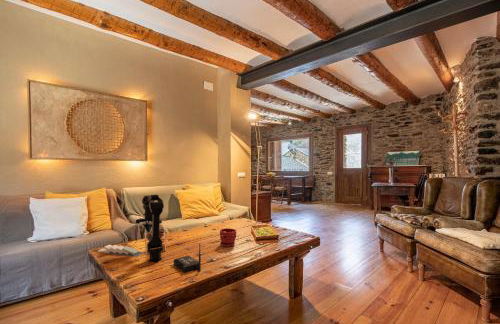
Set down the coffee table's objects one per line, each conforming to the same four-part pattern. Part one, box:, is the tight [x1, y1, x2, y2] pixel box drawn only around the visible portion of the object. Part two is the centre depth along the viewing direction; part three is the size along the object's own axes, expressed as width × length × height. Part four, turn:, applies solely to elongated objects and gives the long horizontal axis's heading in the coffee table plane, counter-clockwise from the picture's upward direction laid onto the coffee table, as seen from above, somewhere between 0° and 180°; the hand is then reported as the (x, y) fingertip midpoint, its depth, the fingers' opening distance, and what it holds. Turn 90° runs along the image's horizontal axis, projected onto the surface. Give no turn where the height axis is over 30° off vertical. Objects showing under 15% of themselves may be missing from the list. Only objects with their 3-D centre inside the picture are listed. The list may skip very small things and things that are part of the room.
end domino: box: [97, 247, 111, 254], centre depth 183 cm, size 1×5×10 cm
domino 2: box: [110, 244, 122, 254], centre depth 181 cm, size 1×5×10 cm
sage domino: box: [122, 245, 140, 255], centre depth 179 cm, size 1×5×10 cm
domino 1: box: [103, 244, 117, 253], centre depth 182 cm, size 1×5×10 cm
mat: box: [105, 251, 145, 258], centre depth 180 cm, size 25×9×1 cm, turn 78°
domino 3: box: [116, 245, 130, 255], centre depth 180 cm, size 1×5×10 cm
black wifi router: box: [173, 243, 202, 274], centre depth 157 cm, size 20×14×17 cm
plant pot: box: [219, 228, 237, 247], centre depth 200 cm, size 13×13×12 cm
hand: (148, 232), depth 187 cm, fingers closed
